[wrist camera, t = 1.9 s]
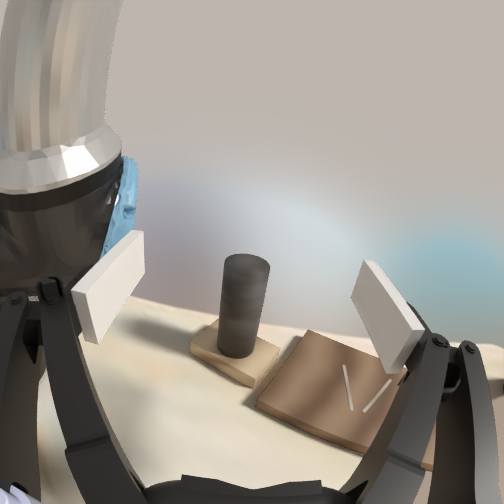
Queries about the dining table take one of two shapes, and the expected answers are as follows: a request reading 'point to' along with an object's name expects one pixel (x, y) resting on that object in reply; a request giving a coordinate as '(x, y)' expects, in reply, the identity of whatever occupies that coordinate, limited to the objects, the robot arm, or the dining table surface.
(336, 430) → the walnut board
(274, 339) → the dining table surface
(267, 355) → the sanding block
